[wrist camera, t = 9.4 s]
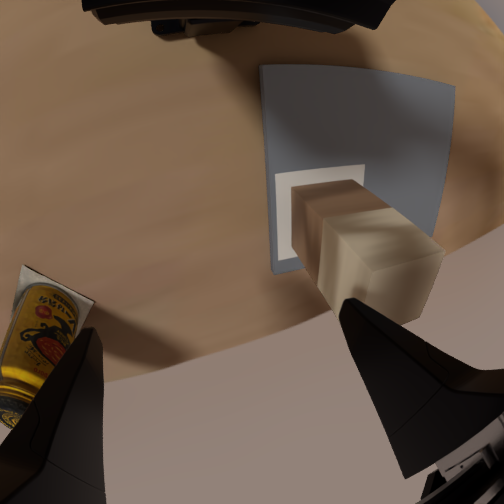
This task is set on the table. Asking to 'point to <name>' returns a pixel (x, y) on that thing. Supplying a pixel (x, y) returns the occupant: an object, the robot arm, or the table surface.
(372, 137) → the grey base plate
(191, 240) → the table surface
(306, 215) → the walnut block
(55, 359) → the condiment
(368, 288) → the birch block
